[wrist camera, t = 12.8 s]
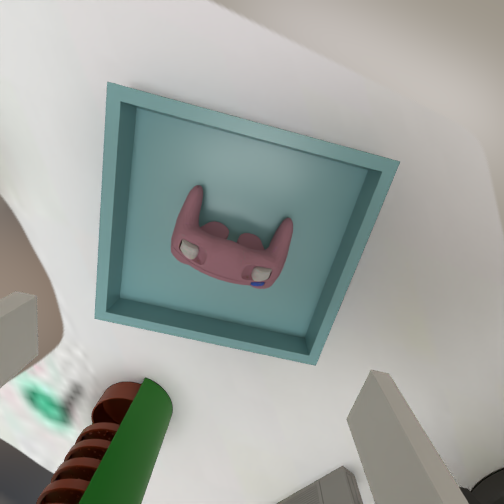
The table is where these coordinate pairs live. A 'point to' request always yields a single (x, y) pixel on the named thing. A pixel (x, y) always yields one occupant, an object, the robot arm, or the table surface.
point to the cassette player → (329, 490)
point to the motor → (114, 448)
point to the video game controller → (228, 248)
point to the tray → (229, 223)
